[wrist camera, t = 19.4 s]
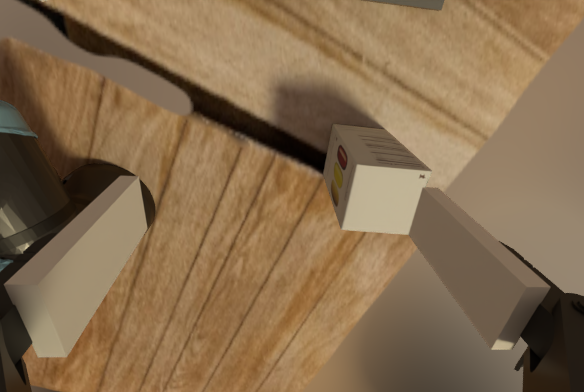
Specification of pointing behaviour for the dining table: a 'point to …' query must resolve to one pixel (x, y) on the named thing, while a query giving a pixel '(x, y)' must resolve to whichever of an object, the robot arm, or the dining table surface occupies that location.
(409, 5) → the slate pad
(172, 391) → the dining table surface
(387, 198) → the supplement box
